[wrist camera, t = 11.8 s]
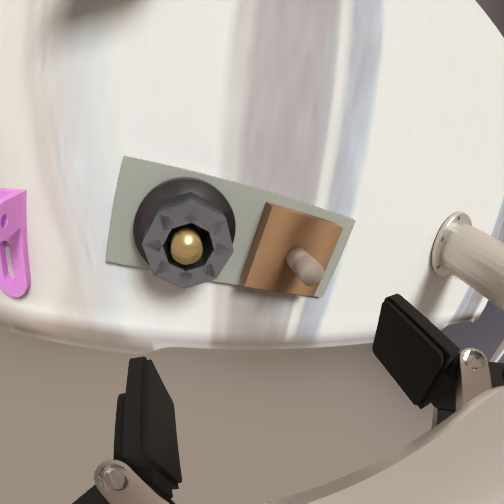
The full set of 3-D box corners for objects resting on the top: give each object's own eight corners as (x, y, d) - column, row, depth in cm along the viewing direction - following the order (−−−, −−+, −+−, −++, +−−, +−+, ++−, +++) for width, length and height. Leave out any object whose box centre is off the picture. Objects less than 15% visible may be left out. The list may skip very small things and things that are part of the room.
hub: (245, 190, 28) (263, 205, 22) (217, 277, 31) (228, 308, 26) (146, 166, 24) (139, 175, 19) (128, 261, 27) (119, 291, 22)
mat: (352, 219, 33) (355, 220, 33) (320, 294, 37) (322, 297, 36) (124, 156, 23) (123, 156, 23) (106, 258, 27) (105, 261, 26)
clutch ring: (213, 185, 25) (220, 194, 22) (230, 253, 28) (239, 272, 25) (139, 207, 24) (133, 220, 20) (162, 273, 27) (162, 294, 24)
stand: (334, 222, 32) (365, 242, 26) (306, 288, 35) (330, 317, 29) (266, 201, 29) (289, 219, 23) (240, 277, 32) (255, 309, 26)
